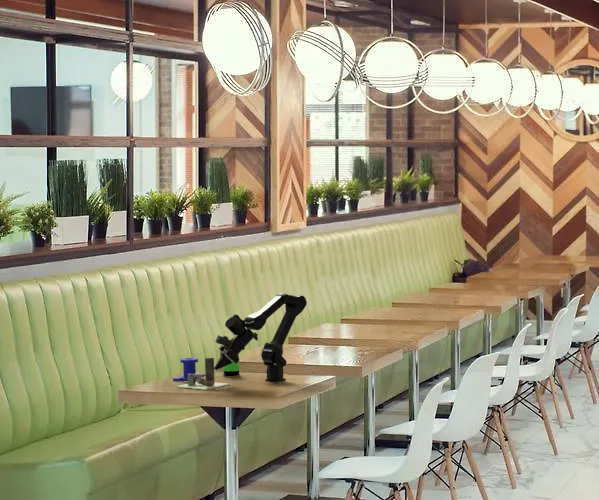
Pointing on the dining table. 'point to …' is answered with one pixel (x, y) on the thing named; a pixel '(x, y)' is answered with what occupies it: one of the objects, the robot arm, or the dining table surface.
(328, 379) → the dining table surface
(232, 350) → the robot arm
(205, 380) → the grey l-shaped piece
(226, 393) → the dining table surface
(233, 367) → the bottle
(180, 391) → the dining table surface
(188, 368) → the mount
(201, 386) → the plate
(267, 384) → the dining table surface
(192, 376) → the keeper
